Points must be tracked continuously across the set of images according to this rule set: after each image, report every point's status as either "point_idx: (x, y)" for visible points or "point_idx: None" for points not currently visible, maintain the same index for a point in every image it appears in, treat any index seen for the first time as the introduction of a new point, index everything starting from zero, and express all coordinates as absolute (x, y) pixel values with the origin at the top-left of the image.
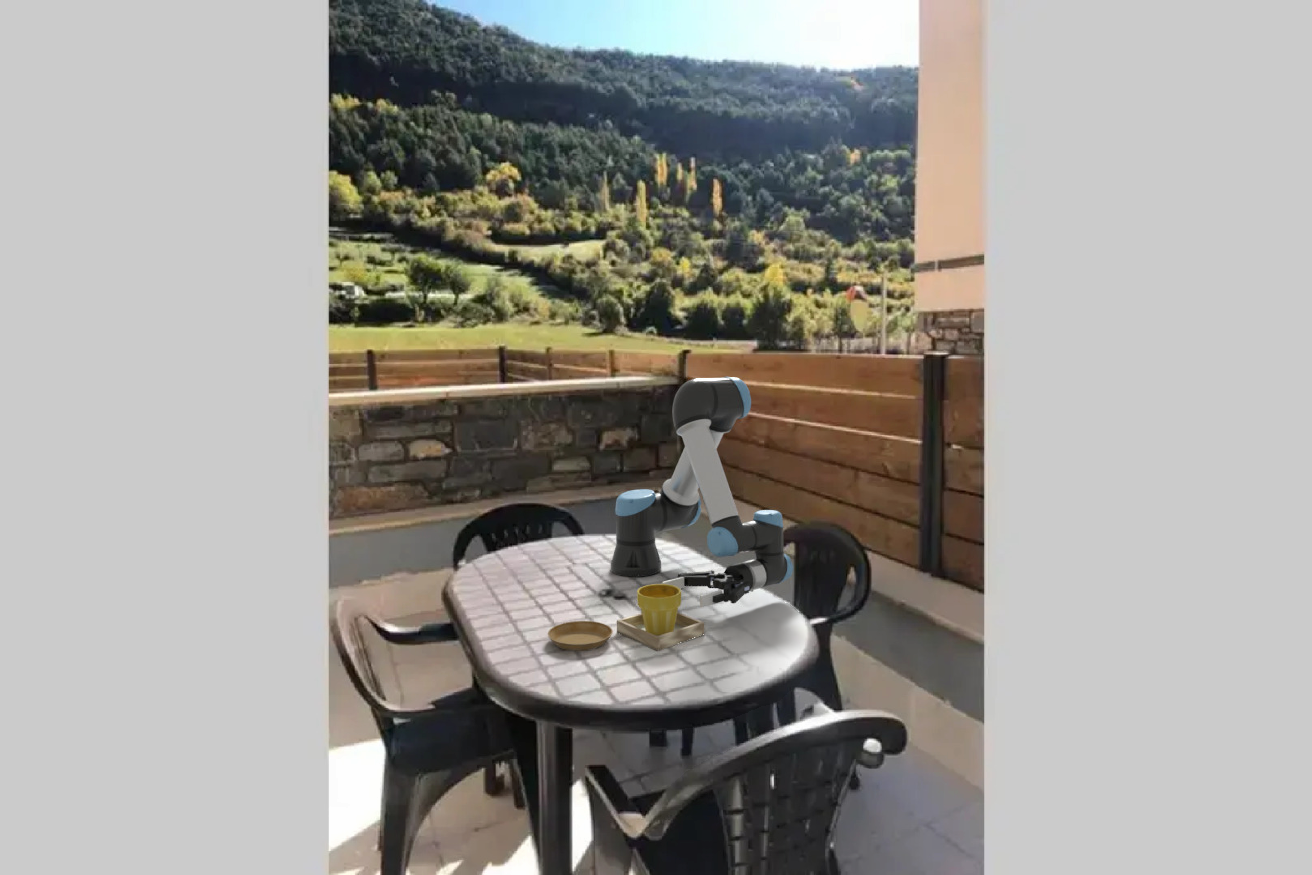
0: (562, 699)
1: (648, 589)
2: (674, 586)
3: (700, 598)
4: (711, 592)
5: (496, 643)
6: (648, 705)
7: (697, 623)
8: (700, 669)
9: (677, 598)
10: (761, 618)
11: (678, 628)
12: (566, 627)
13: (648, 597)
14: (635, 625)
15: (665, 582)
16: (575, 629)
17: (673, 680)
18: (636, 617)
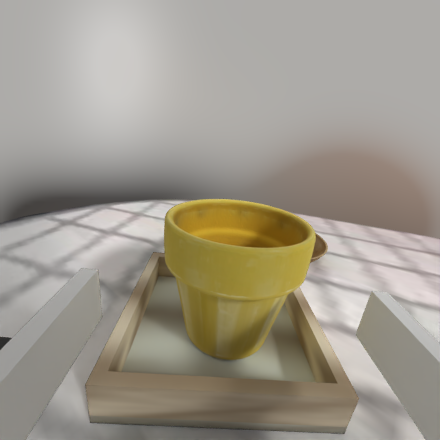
0: (156, 201)
1: (302, 238)
2: (246, 247)
3: (95, 282)
4: (43, 329)
5: (311, 220)
6: (70, 211)
7: (111, 358)
8: (25, 270)
9: (164, 230)
10: None
11: (199, 371)
12: (318, 245)
13: (214, 199)
14: (287, 309)
15: (376, 297)
16: (315, 255)
17: (64, 239)
18: (292, 295)
